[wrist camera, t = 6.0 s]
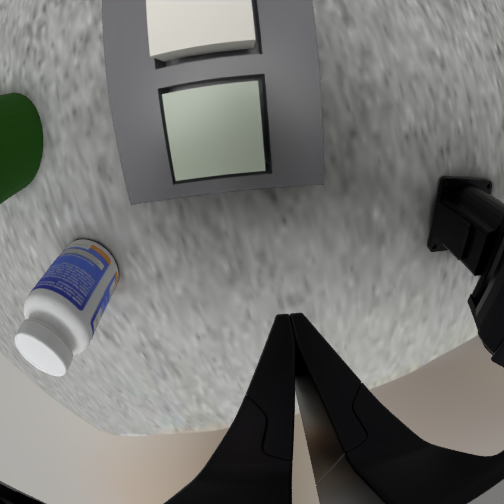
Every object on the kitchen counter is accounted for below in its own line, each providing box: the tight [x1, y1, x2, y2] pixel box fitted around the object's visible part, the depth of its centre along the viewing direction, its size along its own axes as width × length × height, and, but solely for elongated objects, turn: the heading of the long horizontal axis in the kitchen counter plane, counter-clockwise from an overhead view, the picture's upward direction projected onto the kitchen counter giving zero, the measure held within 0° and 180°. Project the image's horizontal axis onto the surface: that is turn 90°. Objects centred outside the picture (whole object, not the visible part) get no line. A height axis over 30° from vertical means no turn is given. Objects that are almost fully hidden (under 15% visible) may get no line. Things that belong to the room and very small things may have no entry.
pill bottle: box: [15, 239, 119, 376], centre depth 16 cm, size 5×5×10 cm
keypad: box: [102, 0, 324, 205], centre depth 11 cm, size 11×20×3 cm, turn 5°
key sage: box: [162, 81, 265, 181], centre depth 14 cm, size 5×5×2 cm
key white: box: [146, 0, 256, 62], centre depth 9 cm, size 5×5×2 cm
